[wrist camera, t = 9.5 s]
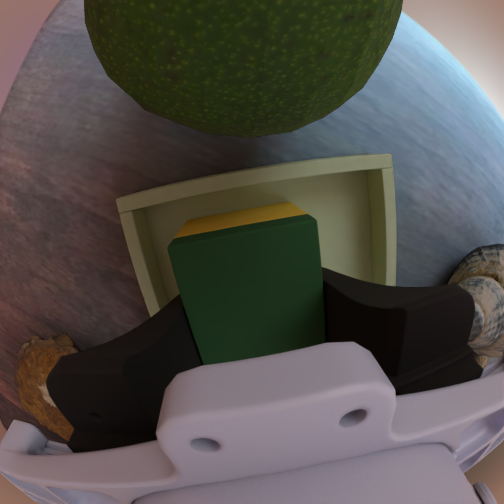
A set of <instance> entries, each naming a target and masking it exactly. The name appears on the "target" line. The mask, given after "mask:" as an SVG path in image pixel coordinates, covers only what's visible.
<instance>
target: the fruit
mask: <svg viewBox="0 0 504 504" xmlns="http://www.w3.org/2000/svg"><path fill="white" fill-rule="evenodd" d="M402 3H403V0H84V12H85V24H86V27H87V30H88V33H89V37H90V40H91V43H92V46H93V49H94V51H95V53H96V55H97V57H98V59H99V61H100V62H101V64H102V66H103V68H104V70H105V72H106V73H107V75H108V77H109V78H110V79H111V80H113V81H114V82H115V83H116V84H117V85H118V86H119V87H120V88H122V89H123V90H124V91H125V92H126V93H127V94H128V95H129V96H131V97H132V98H133V99H134V100H135V101H136V102H137V103H138V104H139V105H140V106H141V107H142V108H143V109H144V110H146V111H149V112H152V113H154V114H157V115H159V116H162V117H164V118H167V119H169V120H172V121H174V122H177V123H180V124H183V125H186V126H188V127H191V128H194V129H197V130H199V131H202V132H205V133H208V134H215V135H227V136H238V137H248V138H252V137H259V136H265V135H272V134H279V133H287V132H292V131H295V130H297V129H299V128H301V127H303V126H305V125H308V124H310V123H312V122H314V121H317V120H319V119H321V118H324V117H325V116H327V115H328V114H330V113H331V112H333V111H334V110H336V109H337V108H339V107H340V106H341V105H342V104H344V103H345V102H346V101H347V100H349V99H350V98H351V97H352V96H354V95H355V94H356V93H357V92H358V91H360V90H361V89H362V88H363V87H364V85H365V84H366V82H367V81H368V80H369V78H370V77H371V75H372V74H373V72H374V71H375V69H376V68H377V66H378V65H379V63H380V61H381V59H382V57H383V55H384V54H385V52H386V50H387V48H388V46H389V44H390V42H391V40H392V38H393V35H394V32H395V29H396V26H397V23H398V20H399V17H400V14H401V10H402Z"/></svg>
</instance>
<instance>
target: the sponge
mask: <svg viewBox="0 0 504 504" xmlns="http://www.w3.org/2000/svg"><path fill="white" fill-rule="evenodd" d="M167 250H168V254H169V257H170V261H171V265H172V268H173V272H174V275H175V279H176V282H177V286H178V289H179V293H180V296H181V299H182V303H183V306H184V309H185V312H186V316H187V319H188V322H189V325H190V328H191V331H192V334H193V337H194V340H195V343H196V346H197V349H198V352H199V354H200V357H201V360H202V363H203V365H211V364H218V363H225V362H232V361H238V360H245V359H251V358H257V357H262V356H268V355H273V354H278V353H283V352H288V351H293V350H297V349H302V348H306V347H311V346H315V345H319V344H323V343H326V328H325V308H324V292H323V278H322V265H321V254H320V243H319V234H318V224H317V220H316V219H315V218H313V217H312V216H311V215H309V214H308V213H306V212H305V211H303V210H302V209H300V208H299V207H297V206H296V205H294V204H293V203H291V202H289V201H288V202H282V203H276V204H270V205H265V206H259V207H253V208H248V209H242V210H237V211H231V212H226V213H221V214H216V215H210V216H205V217H200V218H195V219H190V220H187V221H186V223H185V224H184V225H183V227H182V228H181V229H180V231H179V232H178V233H177V235H176V236H175V237H174V239H173V240H172V241H171V243H170V244H169V245H168V247H167Z"/></svg>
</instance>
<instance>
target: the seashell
mask: <svg viewBox="0 0 504 504" xmlns="http://www.w3.org/2000/svg"><path fill="white" fill-rule="evenodd" d="M449 284H457V285H459V286H460V287H462V288H463V289H465V290H466V291H468V292H469V293H470V294H471V295H472V297H473V299H474V301H475V316H474V322H473V325H472V329H471V333H470V337H469V340H468V343H467V344H468V345H469V346H470V347H471V348H472V349H473V353H475V354H476V355H479V356H483V355H484V356H486V357H501V356H502V354H503V350H504V244H494V245H489V246H481V247H478V248H476V249H475V250H473V251H471V252H470V253H469V254H467V255H466V256H465V257H464V258H463V259H462V261H461V262H460V264H459V265H458V266H457V268H456V269H455V271H454V272H453V274H452V276H451V277H450V279H449V281H448V283H447V285H449Z"/></svg>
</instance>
